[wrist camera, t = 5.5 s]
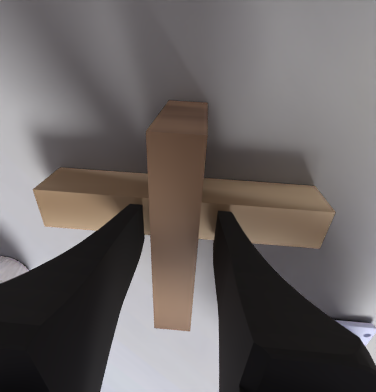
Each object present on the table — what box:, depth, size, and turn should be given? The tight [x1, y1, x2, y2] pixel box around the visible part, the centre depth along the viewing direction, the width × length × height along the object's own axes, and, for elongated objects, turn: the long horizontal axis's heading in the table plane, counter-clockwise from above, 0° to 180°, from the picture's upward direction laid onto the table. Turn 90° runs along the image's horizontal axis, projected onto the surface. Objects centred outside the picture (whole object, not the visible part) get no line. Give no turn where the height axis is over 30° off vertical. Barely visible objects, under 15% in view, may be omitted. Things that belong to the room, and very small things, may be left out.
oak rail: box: [33, 167, 336, 249], centre depth 13 cm, size 2×14×2 cm, turn 87°
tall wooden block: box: [146, 100, 208, 331], centre depth 12 cm, size 10×2×5 cm, turn 177°
